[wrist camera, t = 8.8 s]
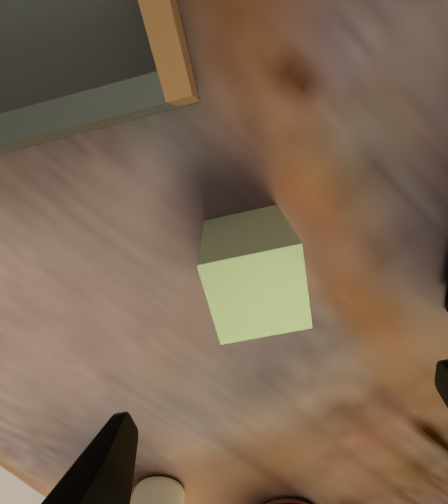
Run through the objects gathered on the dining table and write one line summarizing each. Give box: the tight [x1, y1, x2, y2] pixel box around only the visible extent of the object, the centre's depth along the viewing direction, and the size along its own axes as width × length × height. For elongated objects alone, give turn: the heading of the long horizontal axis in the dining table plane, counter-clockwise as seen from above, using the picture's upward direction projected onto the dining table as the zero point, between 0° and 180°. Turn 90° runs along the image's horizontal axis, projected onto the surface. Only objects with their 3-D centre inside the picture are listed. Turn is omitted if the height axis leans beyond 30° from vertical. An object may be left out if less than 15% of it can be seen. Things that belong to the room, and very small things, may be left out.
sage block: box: [197, 205, 313, 345], centre depth 16 cm, size 4×4×6 cm
